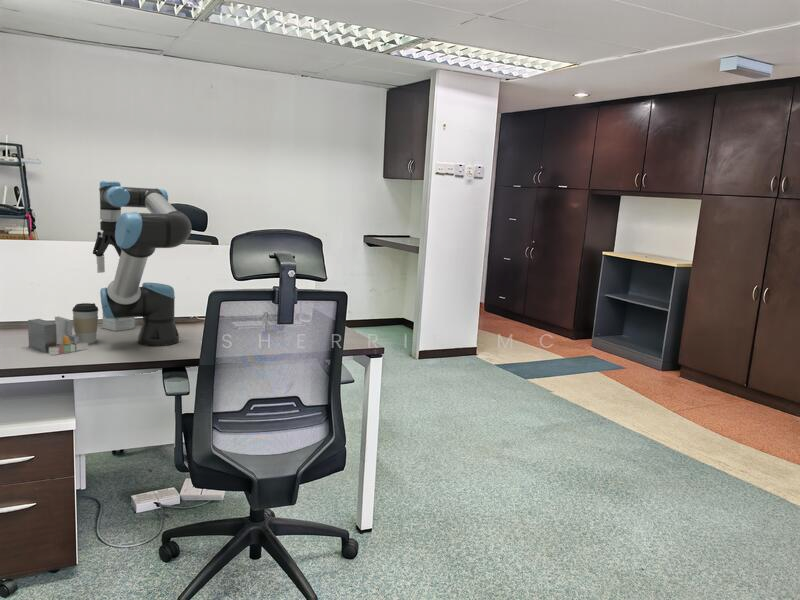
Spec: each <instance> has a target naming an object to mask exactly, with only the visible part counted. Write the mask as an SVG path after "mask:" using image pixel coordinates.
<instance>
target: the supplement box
mask: <svg viewBox="0 0 800 600" xmlns="http://www.w3.org/2000/svg"><path fill="white" fill-rule="evenodd" d="M135 318H136V317H131V318H117V319H114V318H112V319H108V318H105V316H104V314H103V313H102V328H103V329H105V330H106V329H107V330H110V331H113V332H119V331H124V330H131V329H132V330H133V329H135V328H136V327H135V323H136V322H135V321H136V320H135Z"/></svg>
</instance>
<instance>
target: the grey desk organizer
mask: <svg viewBox="0 0 800 600" xmlns="http://www.w3.org/2000/svg"><path fill="white" fill-rule="evenodd" d="M27 333H28V334H27V335H28V347H29V348H31V349H34V350H36V351H39V352H42V353H45V354H46V353H48V354H49V355H50V356H54V355H62V354H66V353H68V354H69V353H73V352H79V351H85V350H89V344H88V342H79V343H76V342H72V344H67V345H66V344H63V345H60V344H57V336H56V324H55V322H51V321H47V320H44V319H42V318H32V319H28V320H27Z"/></svg>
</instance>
